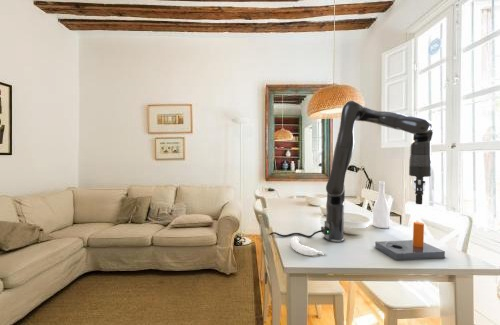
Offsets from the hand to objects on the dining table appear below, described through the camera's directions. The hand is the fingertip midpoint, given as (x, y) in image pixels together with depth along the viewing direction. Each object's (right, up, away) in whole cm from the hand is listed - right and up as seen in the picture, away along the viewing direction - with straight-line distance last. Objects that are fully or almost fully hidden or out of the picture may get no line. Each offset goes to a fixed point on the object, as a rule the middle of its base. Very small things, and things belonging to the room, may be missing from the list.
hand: (418, 202), depth 97 cm
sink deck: (+3, -26, +10) cm, 28 cm away
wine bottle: (+13, -25, +51) cm, 58 cm away
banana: (-46, -26, +14) cm, 54 cm away
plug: (+8, -23, +11) cm, 27 cm away
